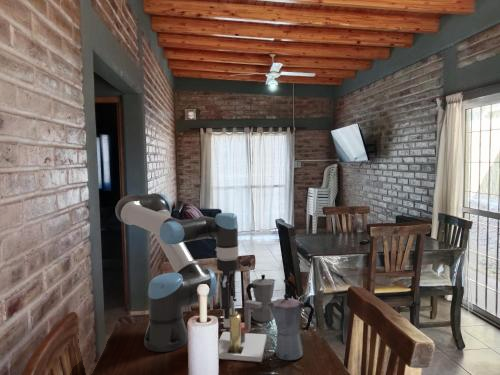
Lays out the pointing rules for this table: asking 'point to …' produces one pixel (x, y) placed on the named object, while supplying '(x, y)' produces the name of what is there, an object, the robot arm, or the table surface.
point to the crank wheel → (246, 316)
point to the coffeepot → (262, 298)
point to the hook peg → (235, 333)
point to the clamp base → (243, 347)
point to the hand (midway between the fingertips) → (229, 323)
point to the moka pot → (289, 326)
